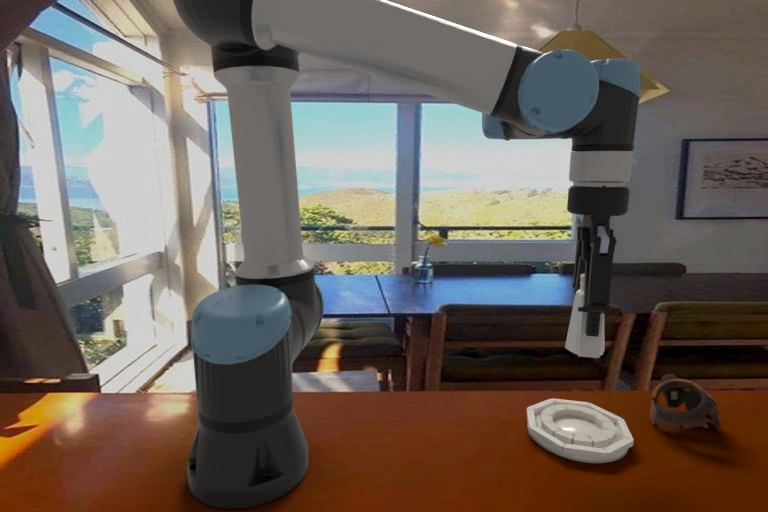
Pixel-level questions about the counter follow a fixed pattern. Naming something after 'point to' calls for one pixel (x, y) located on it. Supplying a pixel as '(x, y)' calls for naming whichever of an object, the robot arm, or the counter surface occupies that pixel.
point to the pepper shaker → (575, 322)
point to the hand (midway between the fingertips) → (584, 347)
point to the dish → (578, 431)
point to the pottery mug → (695, 400)
